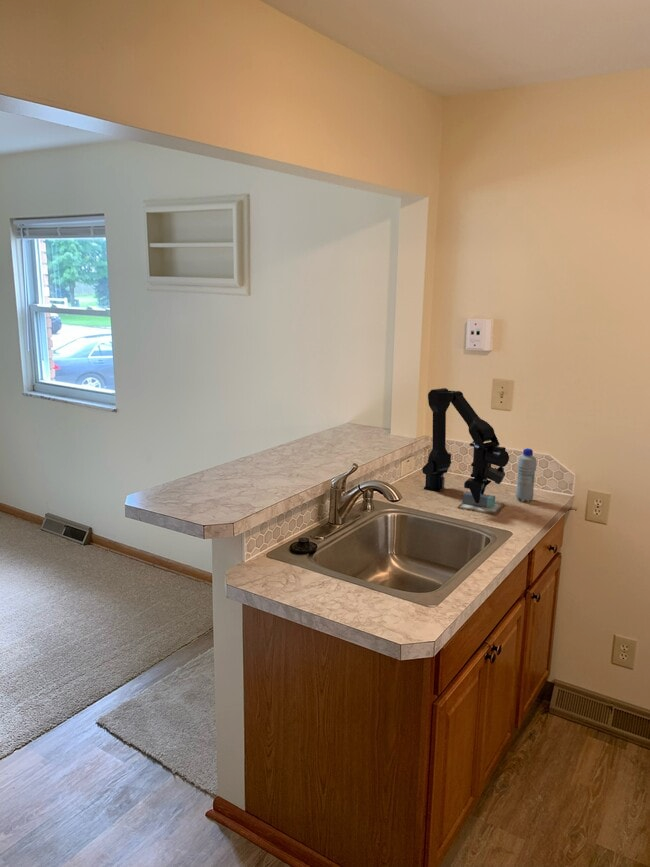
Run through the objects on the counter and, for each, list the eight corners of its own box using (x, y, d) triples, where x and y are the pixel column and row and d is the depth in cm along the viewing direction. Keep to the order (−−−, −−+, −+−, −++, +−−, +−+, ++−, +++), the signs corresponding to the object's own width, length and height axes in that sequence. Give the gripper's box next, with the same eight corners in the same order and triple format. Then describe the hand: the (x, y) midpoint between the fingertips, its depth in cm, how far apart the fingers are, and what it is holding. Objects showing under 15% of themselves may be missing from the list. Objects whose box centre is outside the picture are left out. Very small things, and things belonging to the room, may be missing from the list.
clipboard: (457, 508, 241) (457, 505, 241) (467, 498, 251) (467, 495, 251) (496, 515, 234) (496, 512, 234) (504, 505, 245) (504, 502, 244)
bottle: (512, 501, 248) (517, 449, 244) (516, 496, 254) (521, 445, 249) (531, 504, 245) (536, 452, 241) (534, 499, 251) (539, 447, 246)
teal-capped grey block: (462, 502, 244) (462, 493, 243) (465, 500, 247) (465, 491, 246) (492, 508, 239) (492, 498, 238) (494, 505, 242) (495, 496, 241)
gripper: (496, 470, 227) (493, 513, 231) (510, 457, 243) (507, 497, 247) (464, 465, 232) (462, 507, 236) (480, 453, 248) (477, 492, 252)
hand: (478, 501), depth 243 cm, fingers closed on teal-capped grey block, 3 cm apart
